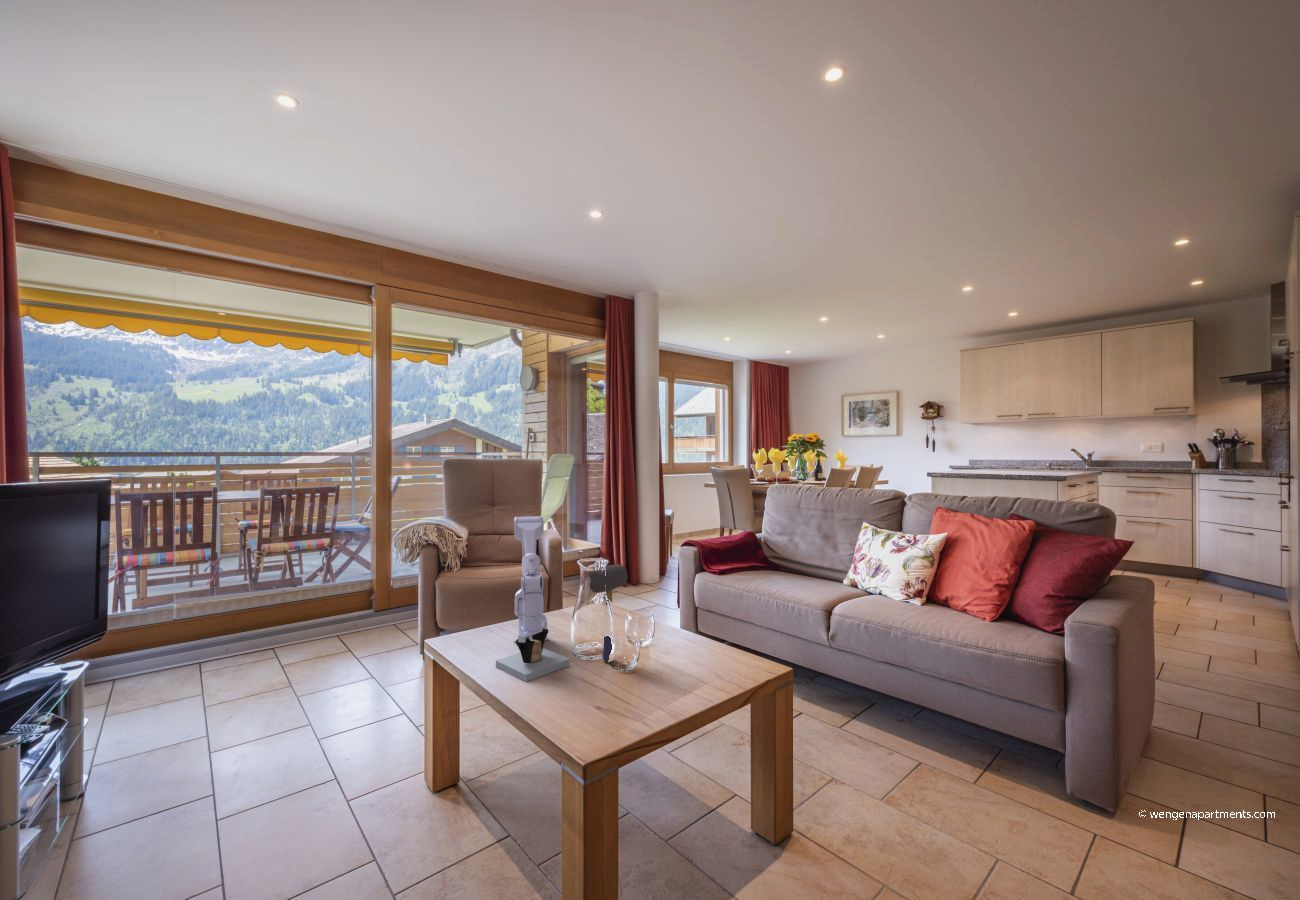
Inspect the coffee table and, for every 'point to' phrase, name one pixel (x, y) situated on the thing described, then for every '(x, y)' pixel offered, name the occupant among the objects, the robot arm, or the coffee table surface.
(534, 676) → the mortise board
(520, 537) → the robot arm
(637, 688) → the coffee table surface
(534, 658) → the oak peg
